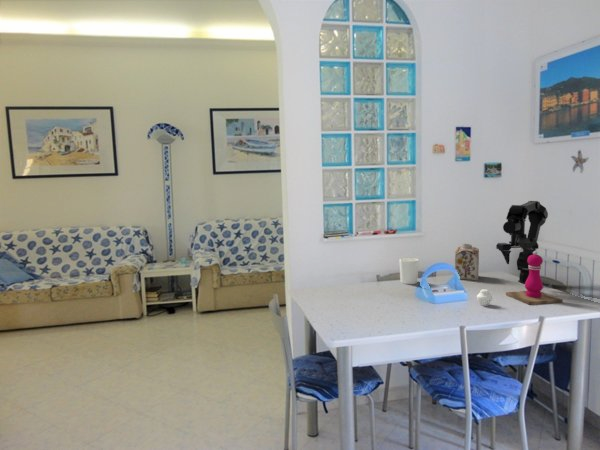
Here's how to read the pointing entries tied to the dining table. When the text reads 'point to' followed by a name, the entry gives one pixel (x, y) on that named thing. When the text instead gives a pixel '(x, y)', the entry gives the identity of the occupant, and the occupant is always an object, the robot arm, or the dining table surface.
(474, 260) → the decorative jar
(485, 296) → the white rounded lump
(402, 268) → the candle holder
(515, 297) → the walnut board
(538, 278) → the pepper mill
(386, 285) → the dining table surface
